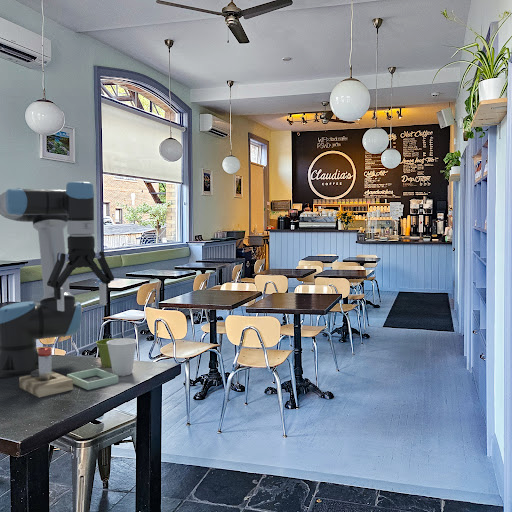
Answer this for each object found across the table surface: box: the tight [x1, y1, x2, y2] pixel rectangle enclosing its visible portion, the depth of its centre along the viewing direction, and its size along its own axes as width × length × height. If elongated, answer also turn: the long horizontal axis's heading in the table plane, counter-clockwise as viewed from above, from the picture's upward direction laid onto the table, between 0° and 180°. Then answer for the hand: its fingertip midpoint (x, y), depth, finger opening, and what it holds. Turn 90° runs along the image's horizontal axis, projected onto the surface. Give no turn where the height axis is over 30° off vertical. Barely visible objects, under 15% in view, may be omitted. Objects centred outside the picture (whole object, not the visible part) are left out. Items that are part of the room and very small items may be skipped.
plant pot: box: [95, 337, 117, 368], centre depth 191 cm, size 9×9×9 cm
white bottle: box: [37, 346, 53, 382], centre depth 162 cm, size 4×4×12 cm
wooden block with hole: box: [18, 369, 74, 398], centre depth 162 cm, size 14×10×6 cm
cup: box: [106, 337, 138, 377], centre depth 180 cm, size 10×10×11 cm
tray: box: [66, 367, 119, 391], centre depth 168 cm, size 13×10×3 cm
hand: (82, 307), depth 160 cm, fingers open, 13 cm apart
